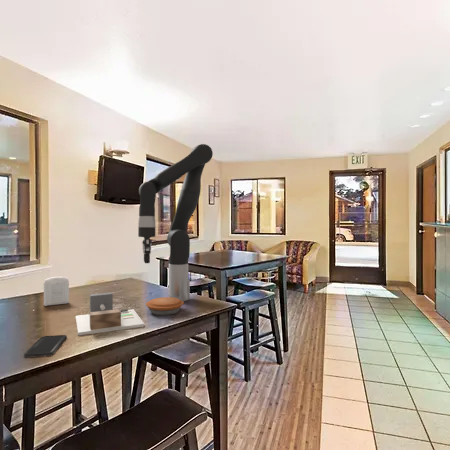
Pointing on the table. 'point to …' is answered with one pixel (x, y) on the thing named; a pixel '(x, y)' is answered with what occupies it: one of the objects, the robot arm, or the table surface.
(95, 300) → the gauge carriage
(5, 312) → the table surface
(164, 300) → the pie
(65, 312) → the table surface
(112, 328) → the base
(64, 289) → the photo printer
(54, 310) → the table surface
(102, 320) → the brown wooden block
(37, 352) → the phone
